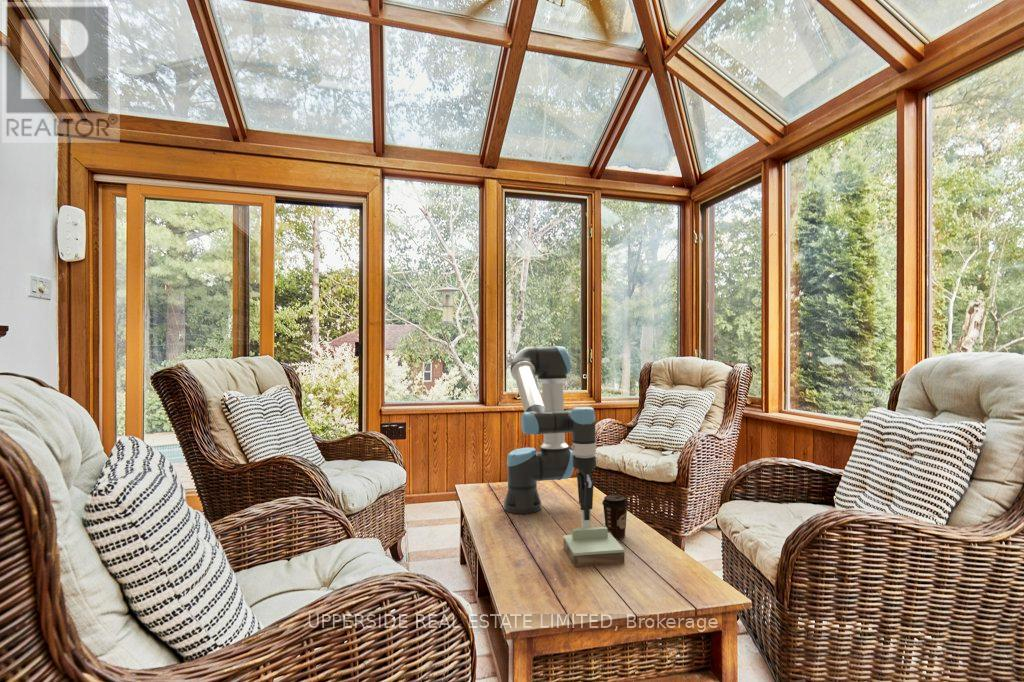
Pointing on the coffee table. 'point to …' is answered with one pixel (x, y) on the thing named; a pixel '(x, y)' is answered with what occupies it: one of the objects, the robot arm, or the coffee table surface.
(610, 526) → the coffee cup
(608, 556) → the box
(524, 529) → the coffee table surface
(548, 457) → the robot arm
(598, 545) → the lid
